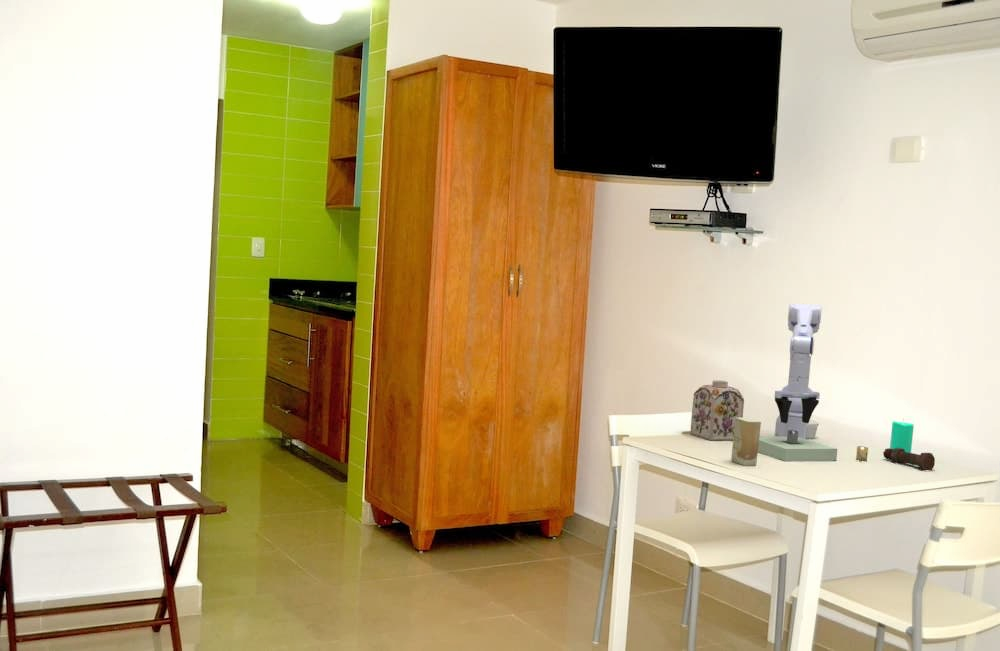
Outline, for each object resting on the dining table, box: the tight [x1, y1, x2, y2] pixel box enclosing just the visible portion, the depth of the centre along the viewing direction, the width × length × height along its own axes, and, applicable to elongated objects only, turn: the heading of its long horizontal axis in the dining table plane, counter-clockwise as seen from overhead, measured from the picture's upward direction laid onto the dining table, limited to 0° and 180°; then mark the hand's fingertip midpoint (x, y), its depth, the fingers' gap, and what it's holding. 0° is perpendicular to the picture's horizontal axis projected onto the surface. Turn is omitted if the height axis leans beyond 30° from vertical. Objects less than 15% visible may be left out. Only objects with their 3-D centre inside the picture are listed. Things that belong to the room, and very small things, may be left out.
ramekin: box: [805, 419, 820, 440], centre depth 316 cm, size 11×11×5 cm
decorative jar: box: [690, 379, 745, 441], centre depth 302 cm, size 12×12×18 cm
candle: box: [889, 418, 915, 453], centre depth 289 cm, size 6×6×12 cm
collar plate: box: [758, 436, 838, 462], centre depth 281 cm, size 18×18×4 cm
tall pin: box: [787, 430, 798, 444], centre depth 281 cm, size 3×3×7 cm
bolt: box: [882, 447, 936, 471], centre depth 277 cm, size 6×5×15 cm
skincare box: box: [730, 417, 762, 466], centre depth 262 cm, size 6×4×12 cm
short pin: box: [855, 445, 869, 462], centre depth 279 cm, size 3×3×4 cm
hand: (794, 422), depth 281 cm, fingers open, 7 cm apart
